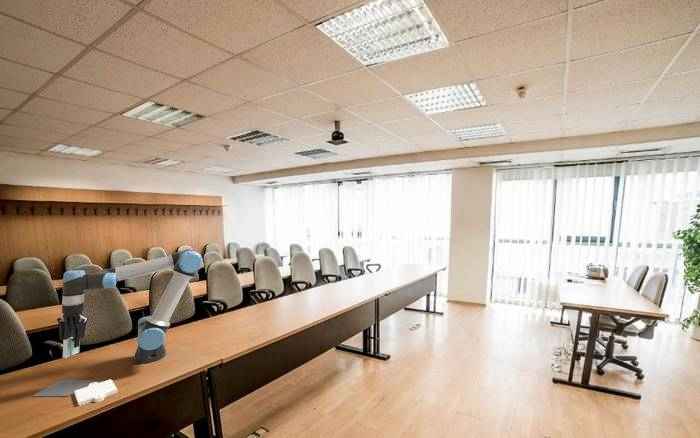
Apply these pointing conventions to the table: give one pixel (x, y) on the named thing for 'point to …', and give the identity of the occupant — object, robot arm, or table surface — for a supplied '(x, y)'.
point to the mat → (62, 388)
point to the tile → (68, 347)
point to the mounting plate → (95, 392)
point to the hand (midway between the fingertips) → (71, 353)
